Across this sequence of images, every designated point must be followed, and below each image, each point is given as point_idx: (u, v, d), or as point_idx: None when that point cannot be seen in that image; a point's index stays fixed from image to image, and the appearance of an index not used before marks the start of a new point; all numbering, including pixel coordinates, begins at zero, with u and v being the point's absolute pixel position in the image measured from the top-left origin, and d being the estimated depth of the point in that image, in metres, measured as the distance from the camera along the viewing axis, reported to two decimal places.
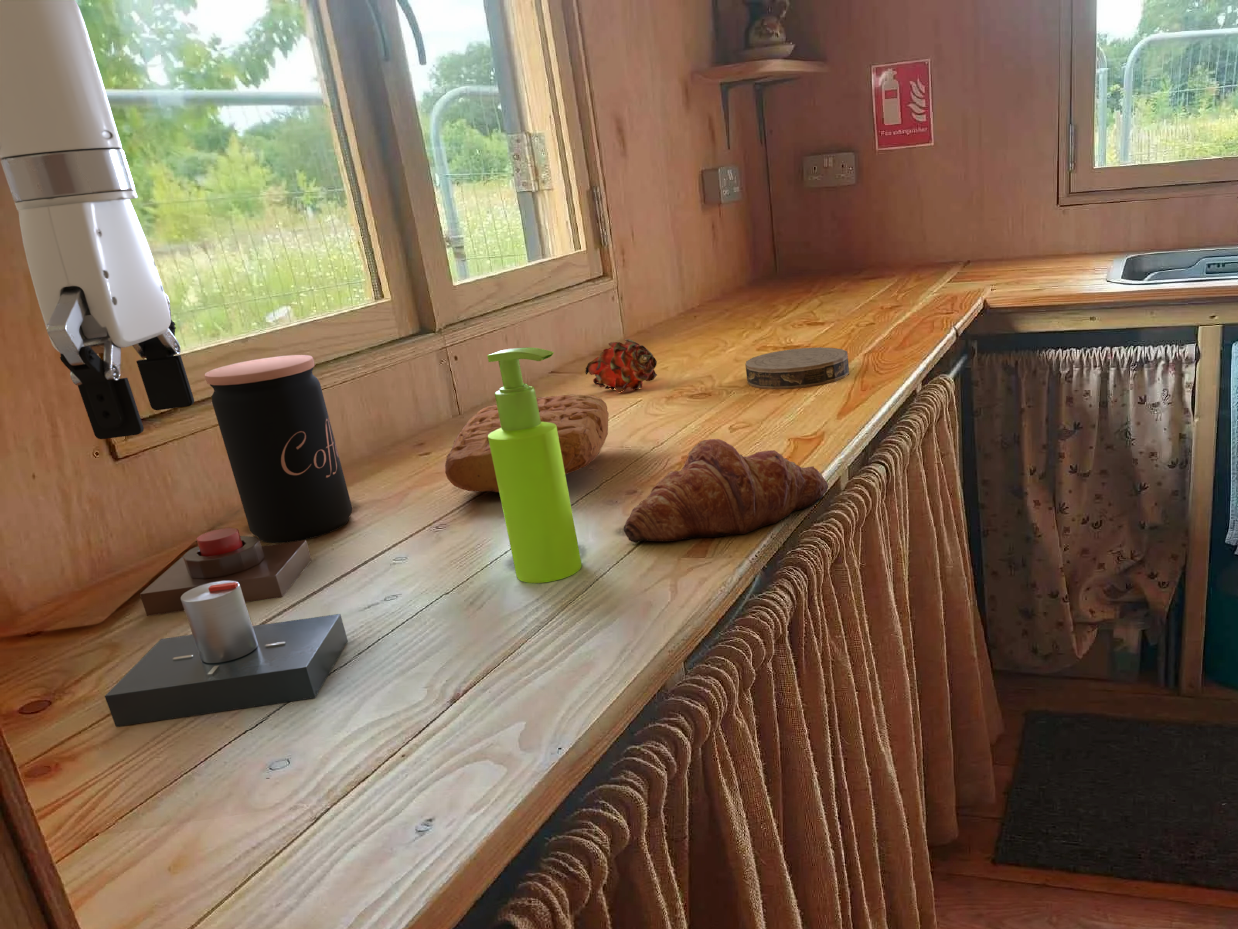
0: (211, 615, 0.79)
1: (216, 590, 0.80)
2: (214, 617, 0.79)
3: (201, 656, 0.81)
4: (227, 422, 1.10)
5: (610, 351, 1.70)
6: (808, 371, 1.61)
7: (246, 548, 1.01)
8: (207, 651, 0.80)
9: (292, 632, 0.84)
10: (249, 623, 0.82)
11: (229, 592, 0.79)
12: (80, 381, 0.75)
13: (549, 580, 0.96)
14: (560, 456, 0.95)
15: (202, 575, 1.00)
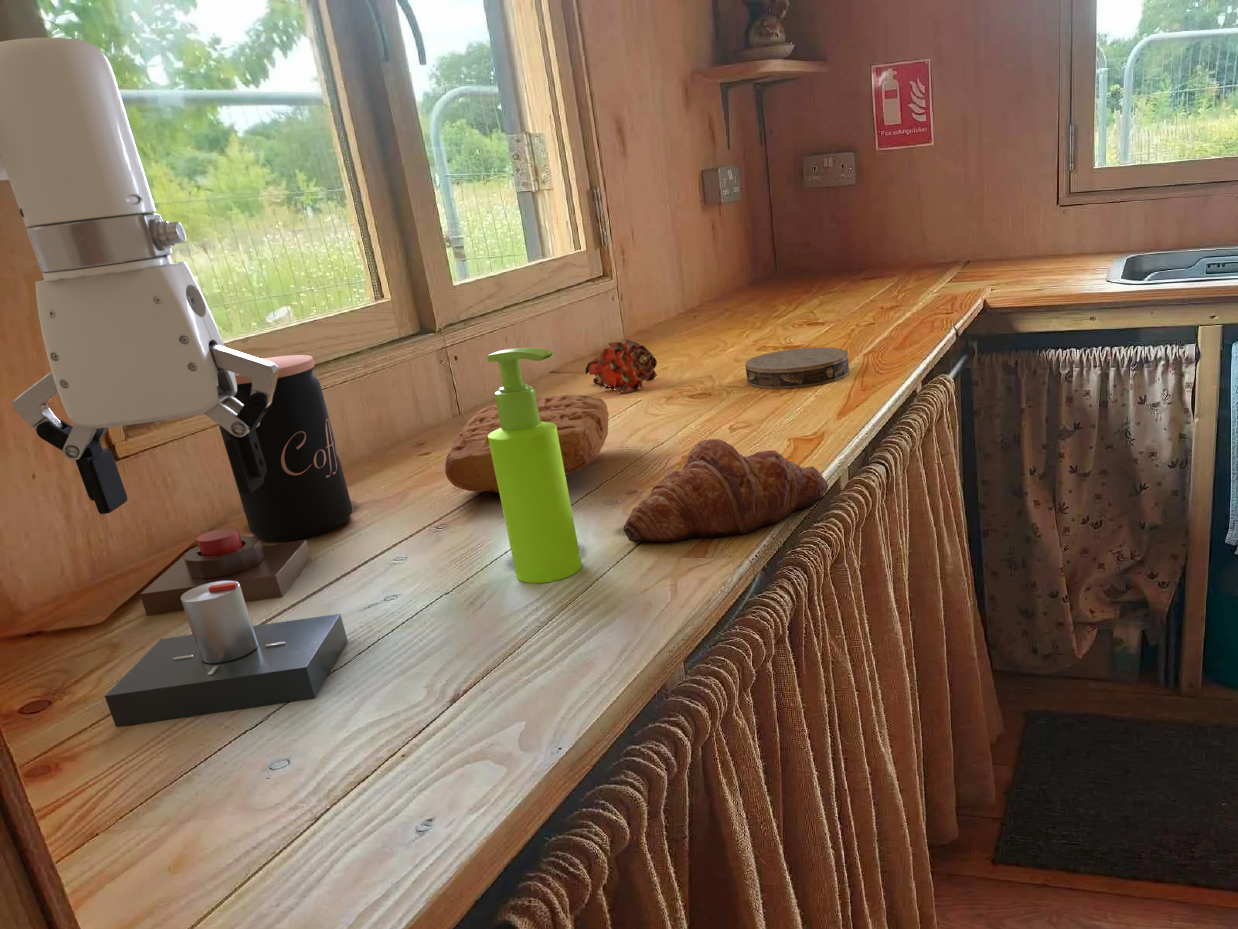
0: (211, 615, 0.79)
1: (216, 590, 0.80)
2: (214, 617, 0.79)
3: (201, 656, 0.81)
4: None
5: (610, 351, 1.70)
6: (808, 371, 1.61)
7: (246, 548, 1.01)
8: (207, 651, 0.80)
9: (292, 632, 0.84)
10: (249, 623, 0.82)
11: (229, 592, 0.79)
12: None
13: (549, 580, 0.96)
14: (560, 456, 0.95)
15: (202, 575, 1.00)
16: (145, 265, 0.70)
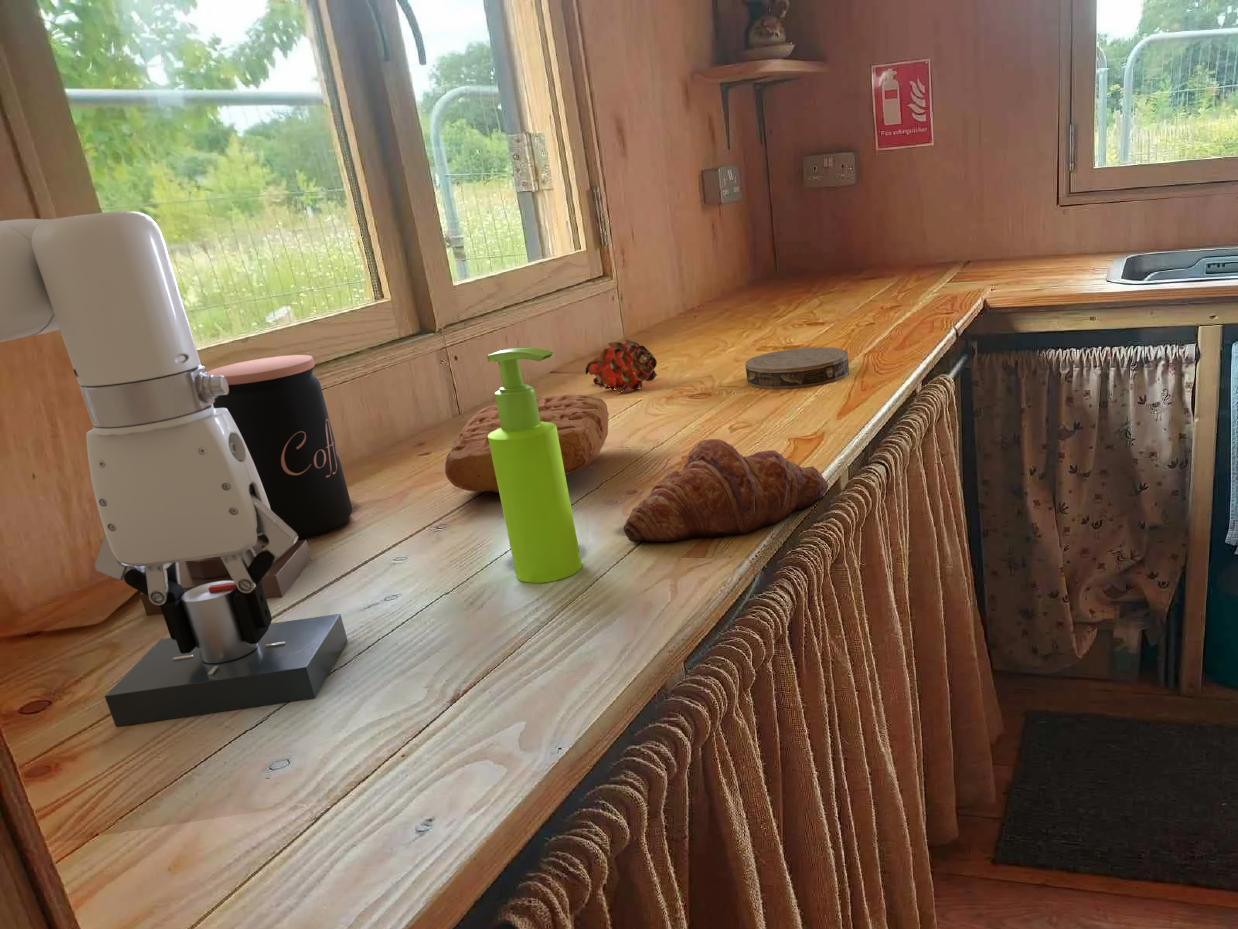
0: (211, 615, 0.79)
1: (216, 590, 0.80)
2: (214, 617, 0.79)
3: (201, 656, 0.81)
4: None
5: (610, 351, 1.70)
6: (808, 371, 1.61)
7: None
8: (207, 651, 0.80)
9: (292, 632, 0.84)
10: None
11: (229, 592, 0.79)
12: None
13: (549, 580, 0.96)
14: (560, 456, 0.95)
15: (202, 575, 1.00)
16: (191, 419, 0.74)
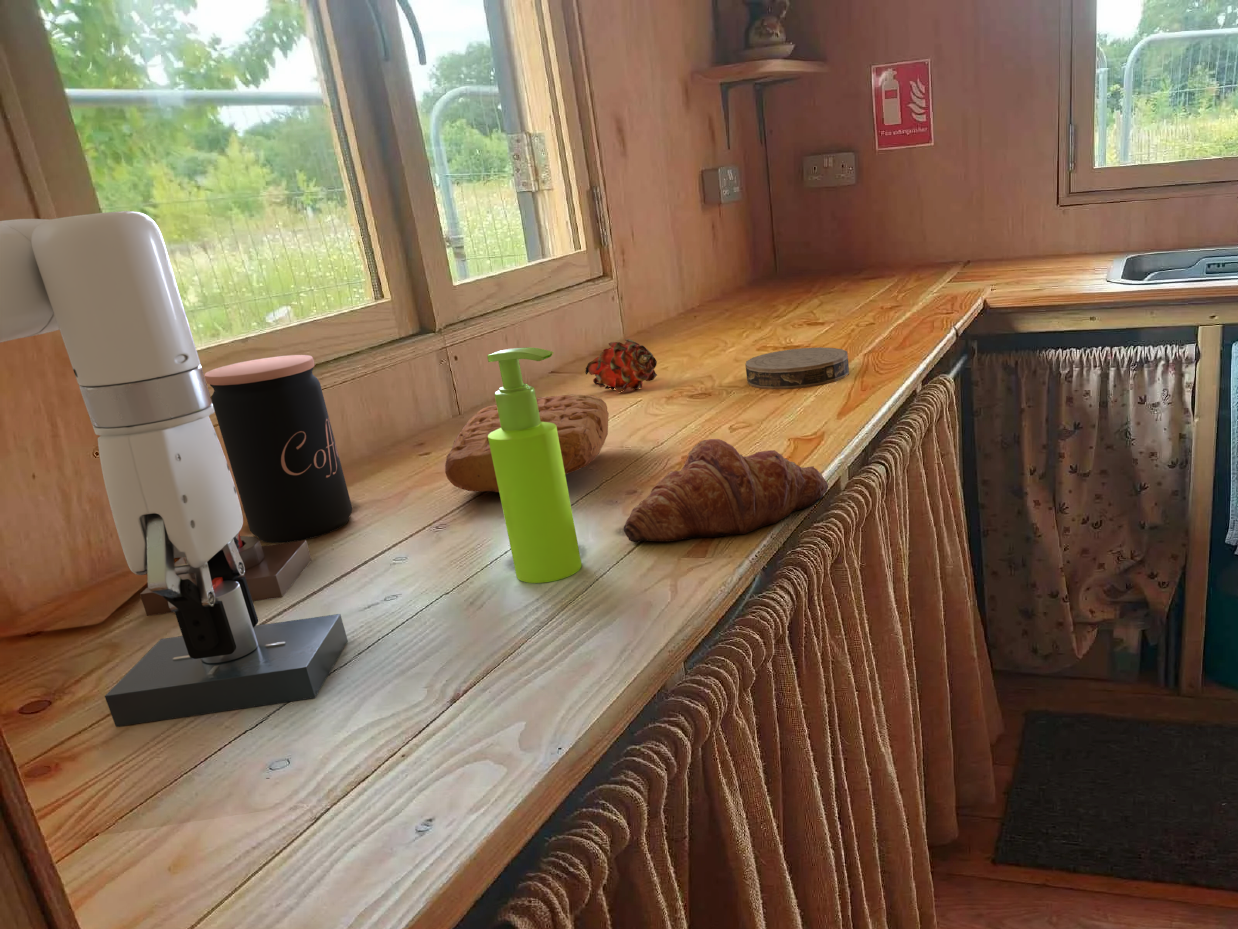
0: (243, 600, 0.81)
1: (217, 586, 0.81)
2: (244, 602, 0.81)
3: (240, 651, 0.81)
4: (227, 422, 1.10)
5: (610, 351, 1.70)
6: (808, 371, 1.61)
7: (246, 548, 1.01)
8: (248, 639, 0.81)
9: (292, 632, 0.84)
10: None
11: None
12: (179, 610, 0.77)
13: (549, 580, 0.96)
14: (560, 456, 0.95)
15: None
16: None
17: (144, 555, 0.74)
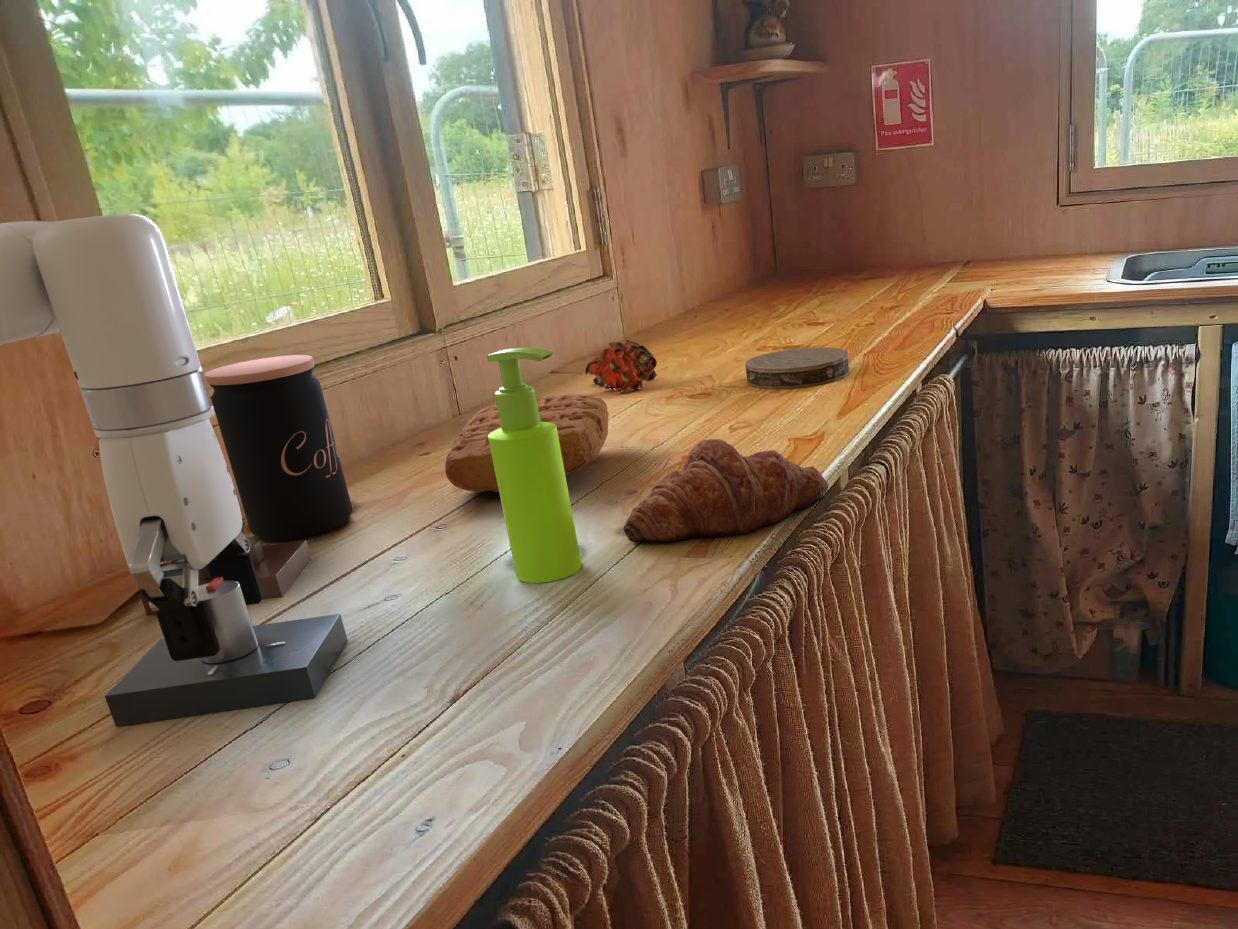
0: (243, 600, 0.81)
1: (217, 586, 0.81)
2: (244, 602, 0.81)
3: (239, 651, 0.81)
4: (228, 422, 1.10)
5: (610, 351, 1.70)
6: (808, 371, 1.61)
7: None
8: (248, 639, 0.81)
9: (292, 632, 0.84)
10: None
11: None
12: (158, 608, 0.74)
13: (549, 580, 0.96)
14: (560, 456, 0.95)
15: (202, 575, 1.00)
16: None
17: None
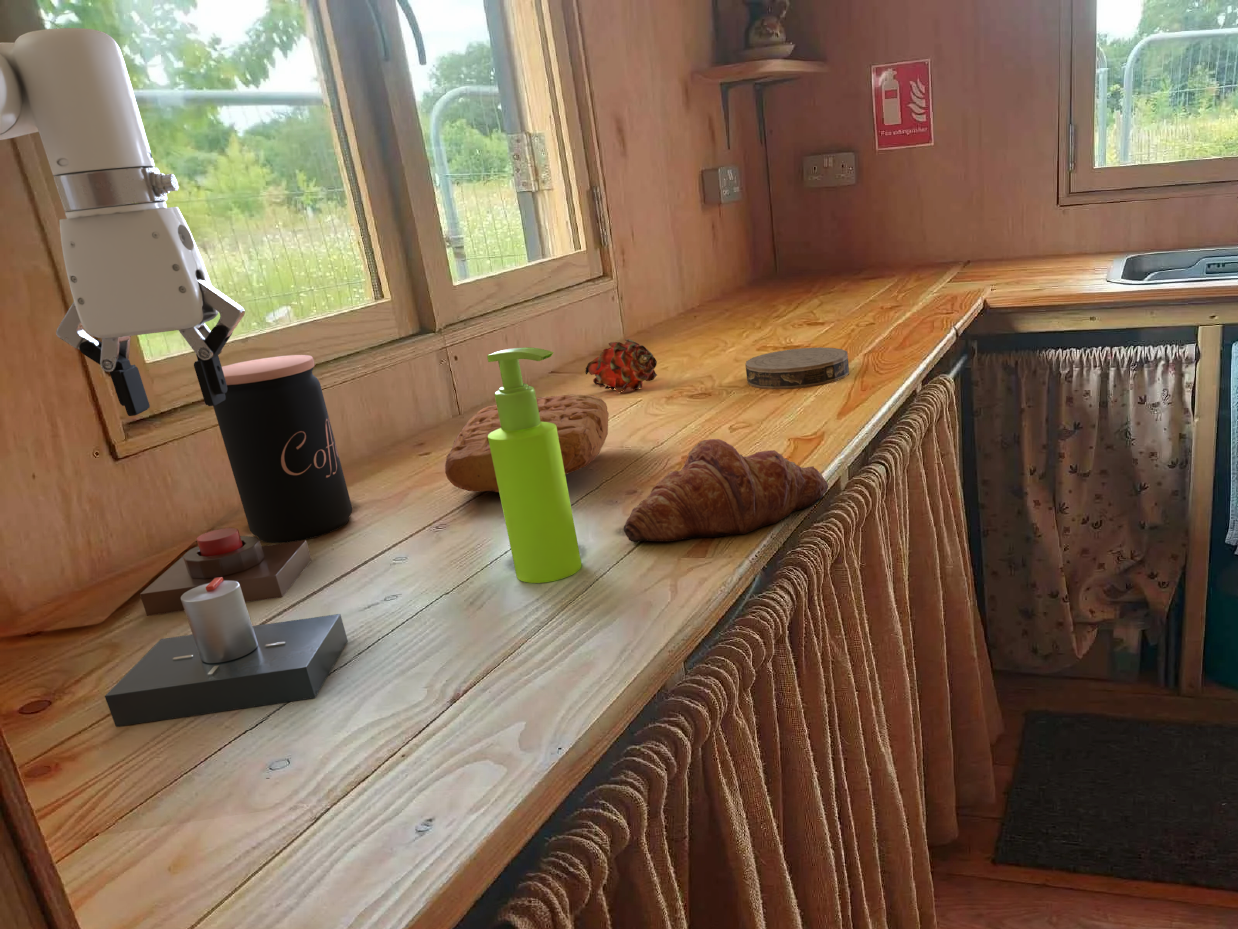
0: (243, 600, 0.81)
1: (217, 586, 0.81)
2: (244, 602, 0.81)
3: (239, 651, 0.81)
4: (227, 422, 1.10)
5: (610, 351, 1.70)
6: (808, 371, 1.61)
7: (246, 548, 1.01)
8: (248, 639, 0.81)
9: (292, 632, 0.84)
10: None
11: None
12: None
13: (549, 580, 0.96)
14: (560, 456, 0.95)
15: (202, 575, 1.00)
16: (145, 207, 0.89)
17: None
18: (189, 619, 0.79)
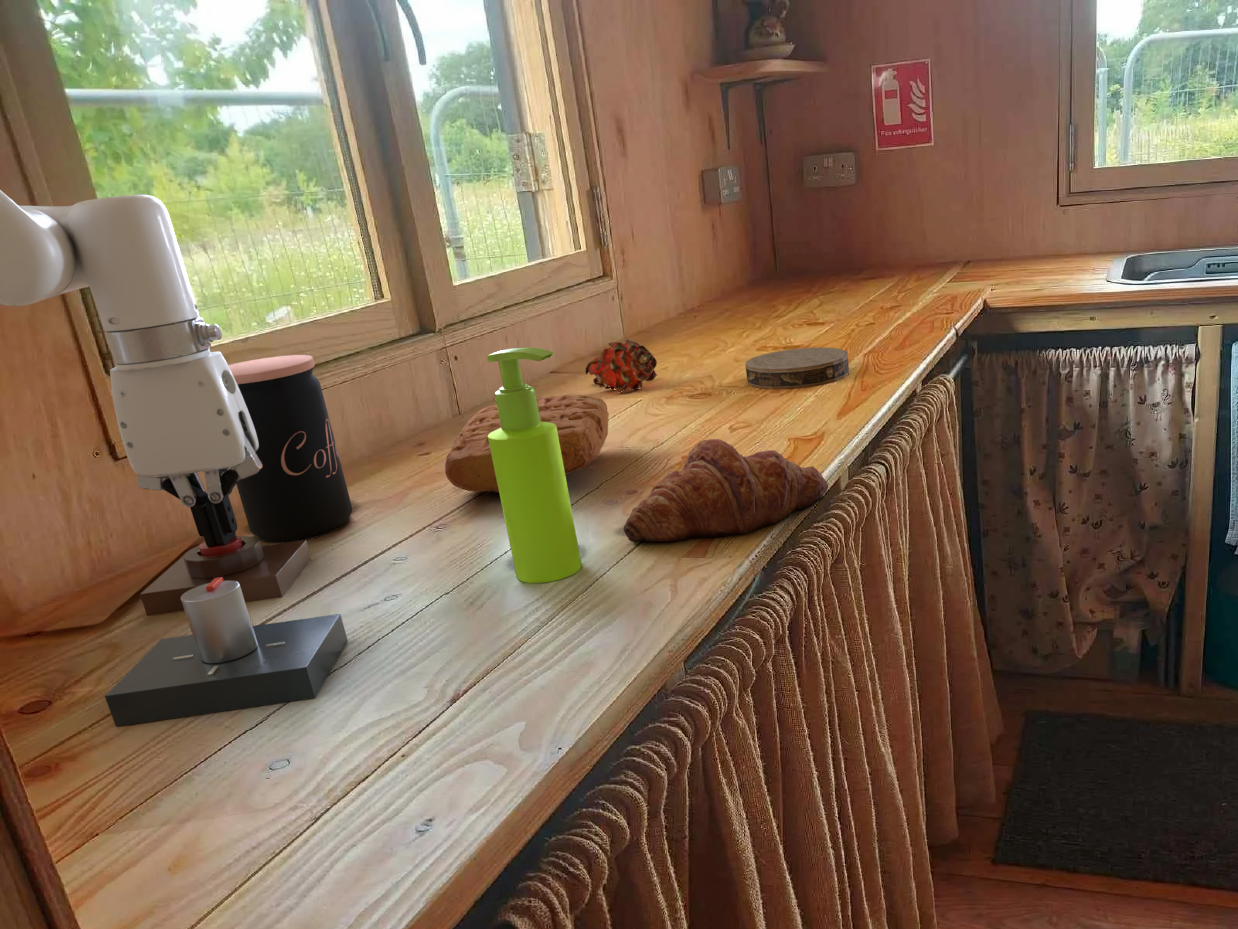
0: (243, 600, 0.81)
1: (217, 586, 0.81)
2: (244, 602, 0.81)
3: (239, 651, 0.81)
4: None
5: (610, 351, 1.70)
6: (808, 371, 1.61)
7: (246, 548, 1.01)
8: (248, 639, 0.81)
9: (292, 632, 0.84)
10: None
11: None
12: None
13: (549, 580, 0.96)
14: (560, 456, 0.95)
15: (202, 575, 1.00)
16: (192, 358, 0.94)
17: None
18: (189, 619, 0.79)
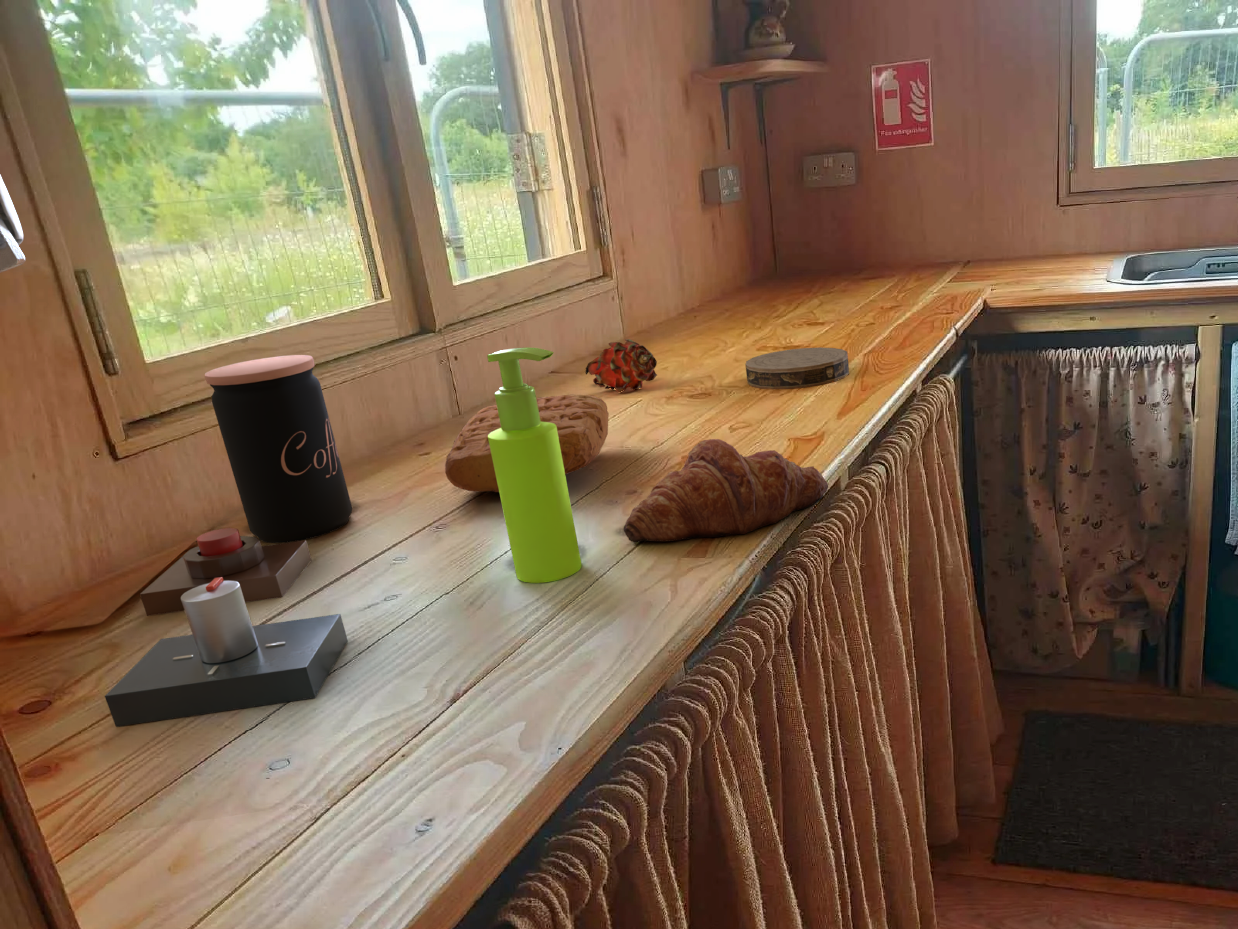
0: (243, 600, 0.81)
1: (217, 586, 0.81)
2: (244, 602, 0.81)
3: (239, 651, 0.81)
4: (227, 422, 1.10)
5: (610, 351, 1.70)
6: (808, 371, 1.61)
7: (246, 548, 1.01)
8: (248, 639, 0.81)
9: (292, 632, 0.84)
10: None
11: None
12: None
13: (549, 580, 0.96)
14: (560, 456, 0.95)
15: (202, 575, 1.00)
16: None
17: None
18: (189, 619, 0.79)
